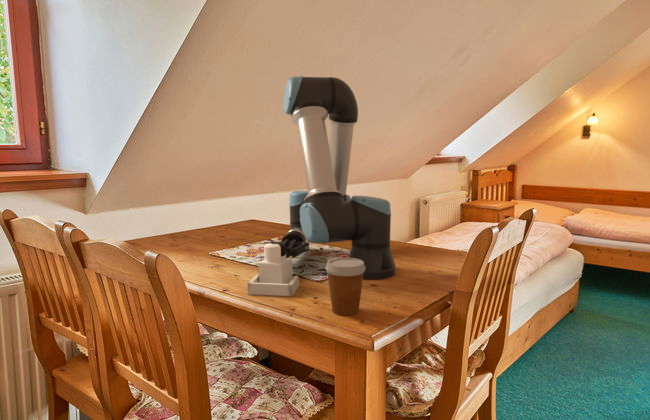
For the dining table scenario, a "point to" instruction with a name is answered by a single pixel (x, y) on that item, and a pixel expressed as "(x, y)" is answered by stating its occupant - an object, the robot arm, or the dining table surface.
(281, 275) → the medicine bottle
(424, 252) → the dining table surface
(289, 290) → the pocket
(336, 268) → the disposable coffee cup
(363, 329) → the dining table surface
